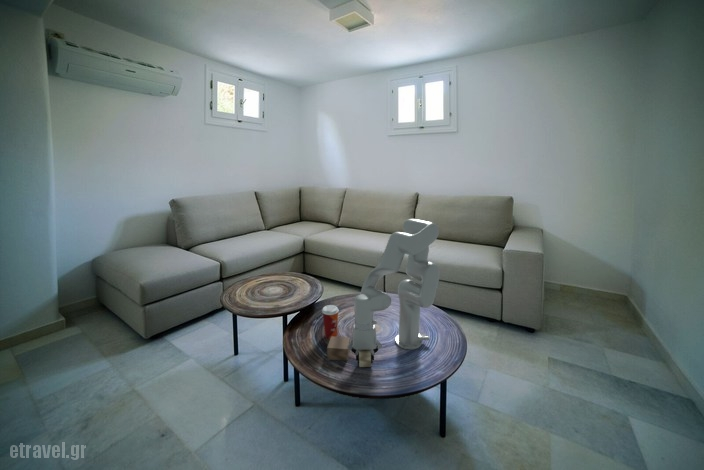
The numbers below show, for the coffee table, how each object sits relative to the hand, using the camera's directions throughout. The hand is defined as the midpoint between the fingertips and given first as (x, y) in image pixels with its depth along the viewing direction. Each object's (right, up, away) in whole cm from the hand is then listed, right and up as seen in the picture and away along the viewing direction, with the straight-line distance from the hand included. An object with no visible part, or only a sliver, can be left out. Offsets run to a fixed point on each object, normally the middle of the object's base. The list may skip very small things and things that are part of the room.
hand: (365, 360), depth 130 cm
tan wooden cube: (-11, 0, +8) cm, 14 cm away
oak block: (0, -1, 0) cm, 1 cm away
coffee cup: (-16, +3, +23) cm, 28 cm away
